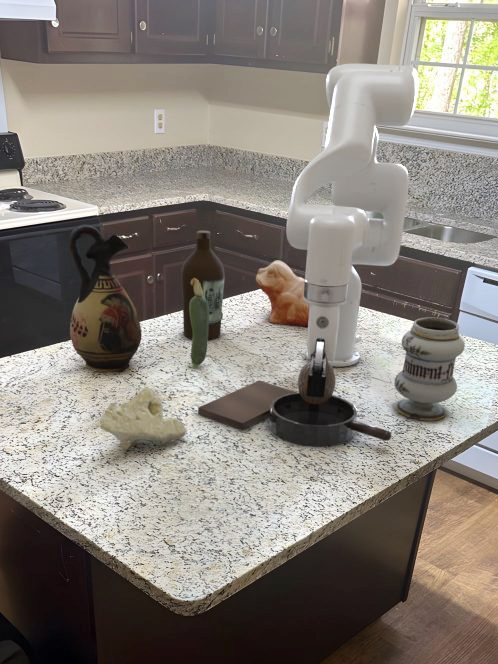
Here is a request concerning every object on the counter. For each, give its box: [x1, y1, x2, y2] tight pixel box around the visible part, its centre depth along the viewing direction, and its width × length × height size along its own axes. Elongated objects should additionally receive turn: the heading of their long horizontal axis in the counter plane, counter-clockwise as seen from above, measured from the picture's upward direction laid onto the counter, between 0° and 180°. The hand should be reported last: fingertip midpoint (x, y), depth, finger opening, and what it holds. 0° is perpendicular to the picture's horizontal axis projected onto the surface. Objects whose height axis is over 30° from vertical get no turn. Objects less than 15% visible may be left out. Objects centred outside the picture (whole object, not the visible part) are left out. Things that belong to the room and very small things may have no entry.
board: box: [197, 380, 297, 431], centre depth 144 cm, size 20×11×2 cm, turn 141°
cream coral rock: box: [99, 386, 187, 451], centre depth 128 cm, size 15×7×15 cm
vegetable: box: [189, 278, 209, 368], centre depth 158 cm, size 4×4×20 cm
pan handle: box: [349, 420, 392, 442], centre depth 129 cm, size 2×8×2 cm, turn 51°
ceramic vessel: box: [255, 259, 310, 328], centre depth 194 cm, size 14×26×15 cm, turn 75°
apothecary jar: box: [394, 316, 466, 421], centre depth 141 cm, size 12×12×18 cm
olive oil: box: [180, 230, 226, 341], centre depth 178 cm, size 11×11×25 cm
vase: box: [297, 355, 337, 404], centre depth 133 cm, size 7×7×9 cm
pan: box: [268, 391, 358, 447], centre depth 136 cm, size 16×16×4 cm
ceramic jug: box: [67, 224, 143, 374], centre depth 154 cm, size 17×15×30 cm
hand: (316, 387), depth 134 cm, fingers closed on vase, 7 cm apart
